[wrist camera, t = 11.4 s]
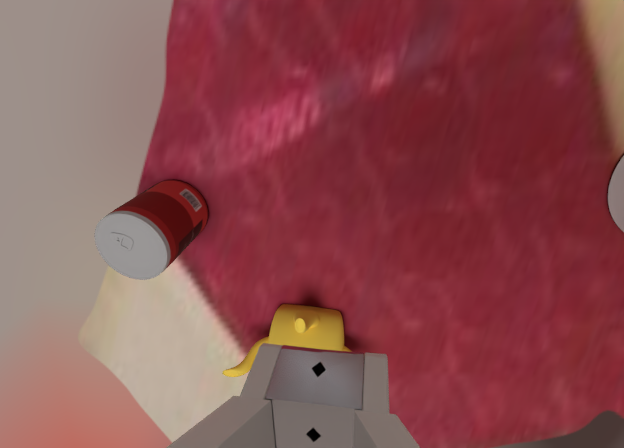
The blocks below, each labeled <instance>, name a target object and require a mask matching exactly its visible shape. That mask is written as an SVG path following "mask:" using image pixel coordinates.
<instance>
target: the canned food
mask: <svg viewBox="0 0 624 448" xmlns="http://www.w3.org/2000/svg"><path fill="white" fill-rule="evenodd" d="M207 218H208V208H207V205H206V202H205V200H204V198H203V197H202V195H201V194H200V193H199V192H198V191H197V190H196V189H195V188H194V187H192V186H190V185H189V184H187V183H184V182H181V181H176V180H169V181H162V182H160V183H157V184H156V185H154V186H152V187H151V188H149V189H148V190H146V191H144V192H143V193H141V194H140V195H138V196H136V197H135V198H133V199H132V200H130V201H128V202H127V203H125V204H123V205H122V206H120V207H119V208H117V209H115V210H114V211H113V212H111V213H109V214H108V215H106V216H105V217H104V218H103V219H102V220H100V222H99V223H98V224H97V227H96V229H95V243H96V246H97V249H98V251H99V253H100V255H101V256H102V258H103V259H104V260H105V262H106V263H107V264H108V265H109V266H110V267H112V268H113V269H114V270H116V271H117V272H119V273H120V274H122V275H125V276H127V277H129V278H133V279H140V280H145V279H151V278H154V277H156V276H158V275H159V274H160V273H162V272H163V271H164V270H165V269H166V268H167V267H168V266H169V265H170V264H171V263H172V262H173V261H174V260H175V259H176V258H177V257H178V256H179V255H180V254H181V252H182V251H183V250H184V249H185V248H186V247H187V246H188V245H189V244H190V243H191V242H192V241H193V240H194V239H195V237H196V236H197V235H198V234H199V233H200V232H201V231H202V230H203V229H204V227H205V225H206V222H207Z"/></svg>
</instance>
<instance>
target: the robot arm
mask: <svg viewBox="0 0 624 448" xmlns="http://www.w3.org/2000/svg"><path fill="white" fill-rule="evenodd" d="M608 205H609V210H610V213H611V216H612V218H613V220H614V221H615V223H616V224H617V226H618V227H619V228H620V229H621V230H622V231H623V232H624V156H623V157H622V159H621V160H620V162H619V163H618V165H617V167H616V169H615V170H614V173H613V175H612V178H611V181H610V184H609V189H608ZM363 376H364V378H363ZM167 448H420V447H419V445H418V444H417V443H416V441H415V440H414V438H413V437H412V436H411V434H410V433H409V432H408V430H407V429H406V427H405V426H404V425H403V423H402V422H401V421H400V419H399V418H398V417H397V415H395V414H389V390H388V358H387V355H386V354H376V353H365V356H364V353H361V352H349V351H337V350H325V349H314V348H306V347H297V346H289V345H276V344H268V343H263V344H262V345H261V346H260V347H259V349H258V352H257V354H256V357H255V359H254V362H253V364H252V367H251V369H250V372H249V375H248V377H247V380H246V382H245V385H244V387H243V390H242V392H241V395H240V397H239V396H233V397H232V398H230V399H229V400H228V401H226V402H225V403H224V404H223V405H221V406H220V407H219V408H217V409H216V410H215V411H213V412H212V413H211V414H209V415H208V416H207V417H206V418H204V419H203V420H202V421H200V422H199V423H198V424H196V425H195V426H194V427H193V428H191V429H190V430H189V431H187V432H186V433H185V434H183V435H182V436H181V437H180V438H178V439H177V440H176V441H174V442H173V443H172V444H171V445H169V446H168V447H167Z"/></svg>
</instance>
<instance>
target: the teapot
mask: <svg viewBox="0 0 624 448" xmlns="http://www.w3.org/2000/svg"><path fill="white" fill-rule="evenodd" d="M263 343H268V344H276V345H289V346H297V347H306V348H314V349H325V350H337V351H349V352H352V351H351V350H350V349H348V348H347V347H345V346H344V326H343V319H342V315H341V313H340V312H339V311H337V310H333V309H327V308H320V307H312V306H303V305H293V304H282V305H281V306H280V307H279V308H278V309H277V310H276V312H275V315H274V318H273V321H272V325H271V329H270V334H269V336H268V337H265V338H263V339H261V340H259V341H258V342H257V343H256V344H255V345H254V346H253V347H252V348H251V350H250V351H249V353H248V354H247V356H246V357H245V359H244V360H243V361H242V362H241V363H240V364H239V365H237V366H236V367H233V368H230V369H227V370H225V371H223V374H224V375H225V376H229V377H238V376H241V375H244V374H245V373H247V372H248V371H249V370H250V369H251V367H252V364H253V362H254V359H255V357H256V354H257V352H258V349H259V347H260V346H261V345H262V344H263Z"/></svg>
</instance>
